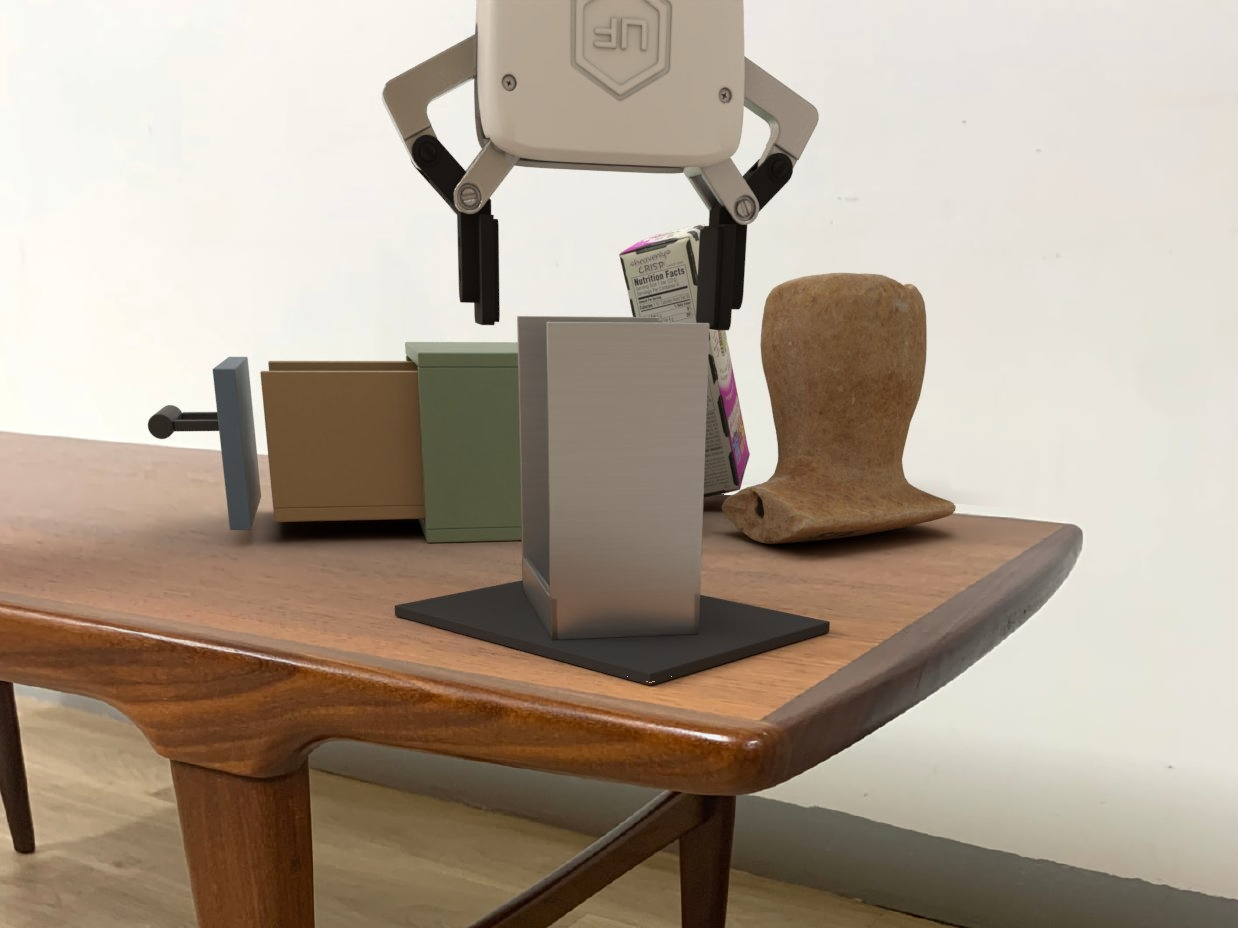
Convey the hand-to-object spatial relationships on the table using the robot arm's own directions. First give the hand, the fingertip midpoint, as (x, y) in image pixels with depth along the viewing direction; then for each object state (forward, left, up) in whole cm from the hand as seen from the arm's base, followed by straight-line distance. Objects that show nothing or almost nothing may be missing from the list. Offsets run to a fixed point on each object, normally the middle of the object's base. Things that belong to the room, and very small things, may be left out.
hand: (601, 326), depth 54 cm
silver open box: (0, 0, -12) cm, 12 cm away
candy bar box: (+15, +35, -12) cm, 40 cm away
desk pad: (0, 0, -13) cm, 13 cm away
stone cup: (+18, +21, -13) cm, 31 cm away
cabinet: (+1, +28, -13) cm, 31 cm away
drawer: (-13, +28, -12) cm, 33 cm away
